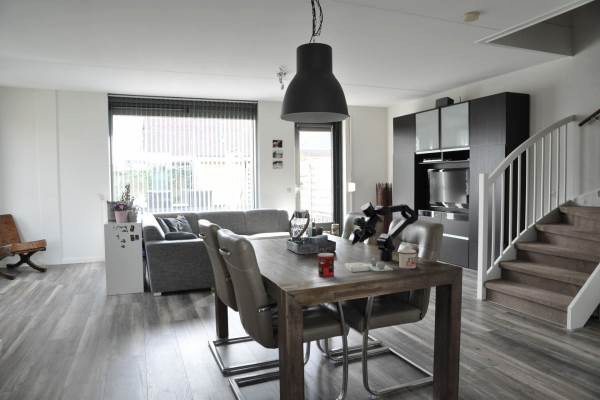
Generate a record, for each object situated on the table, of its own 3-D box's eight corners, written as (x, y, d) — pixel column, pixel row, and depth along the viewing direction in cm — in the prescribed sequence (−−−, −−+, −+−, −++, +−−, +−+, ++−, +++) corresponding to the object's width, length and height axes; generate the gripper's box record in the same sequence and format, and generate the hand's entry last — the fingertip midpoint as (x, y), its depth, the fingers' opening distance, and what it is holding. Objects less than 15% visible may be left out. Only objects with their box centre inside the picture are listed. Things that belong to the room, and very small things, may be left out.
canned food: (317, 274, 221) (317, 253, 220) (332, 273, 221) (332, 252, 221) (319, 277, 213) (318, 255, 212) (335, 277, 214) (334, 255, 213)
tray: (378, 264, 241) (378, 262, 241) (393, 271, 224) (393, 268, 224) (362, 265, 239) (362, 263, 239) (375, 272, 222) (375, 270, 222)
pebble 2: (383, 268, 229) (383, 260, 229) (386, 269, 225) (386, 262, 225) (376, 268, 228) (376, 261, 228) (379, 270, 224) (379, 262, 224)
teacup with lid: (407, 270, 225) (407, 248, 224) (395, 267, 233) (395, 246, 232) (424, 267, 231) (423, 246, 230) (411, 264, 239) (411, 243, 238)
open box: (362, 267, 234) (362, 262, 234) (369, 271, 224) (369, 265, 224) (344, 269, 231) (344, 263, 231) (351, 273, 222) (351, 267, 221)
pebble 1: (375, 264, 238) (375, 257, 238) (378, 265, 234) (378, 258, 234) (369, 264, 237) (368, 257, 237) (371, 266, 233) (371, 259, 233)
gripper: (354, 216, 250) (338, 235, 245) (368, 210, 233) (352, 230, 227) (367, 229, 251) (352, 248, 246) (383, 223, 234) (367, 245, 228)
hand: (355, 243), depth 237 cm, fingers open, 9 cm apart
